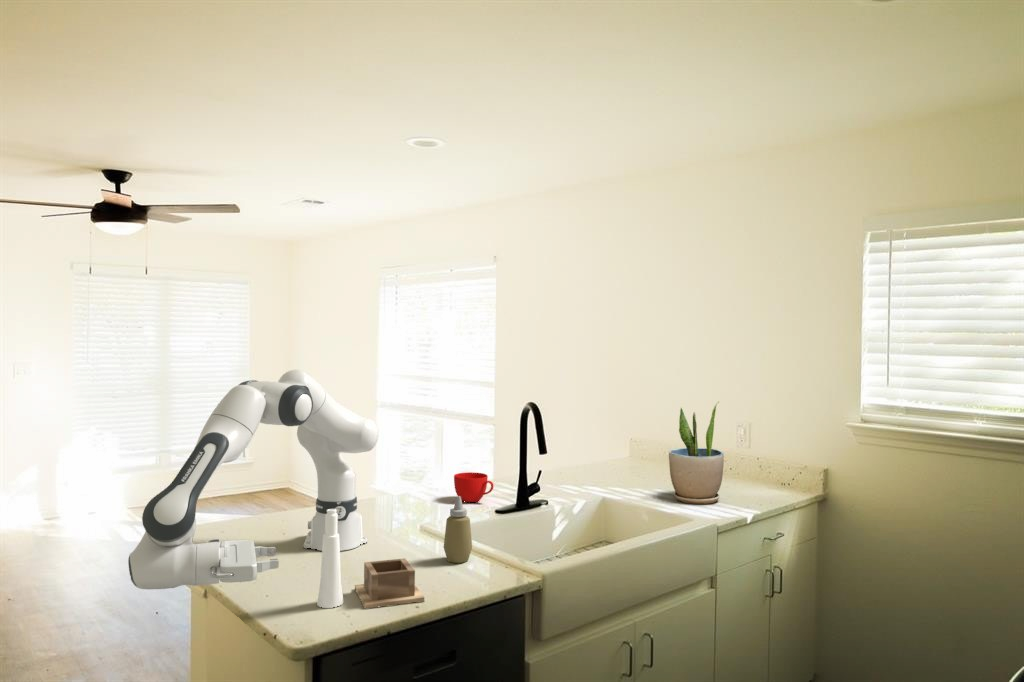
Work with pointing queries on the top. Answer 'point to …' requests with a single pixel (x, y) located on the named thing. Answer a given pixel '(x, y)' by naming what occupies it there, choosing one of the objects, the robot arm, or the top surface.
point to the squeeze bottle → (458, 534)
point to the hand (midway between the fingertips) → (277, 557)
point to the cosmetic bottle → (330, 565)
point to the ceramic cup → (471, 486)
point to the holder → (388, 584)
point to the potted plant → (696, 465)
